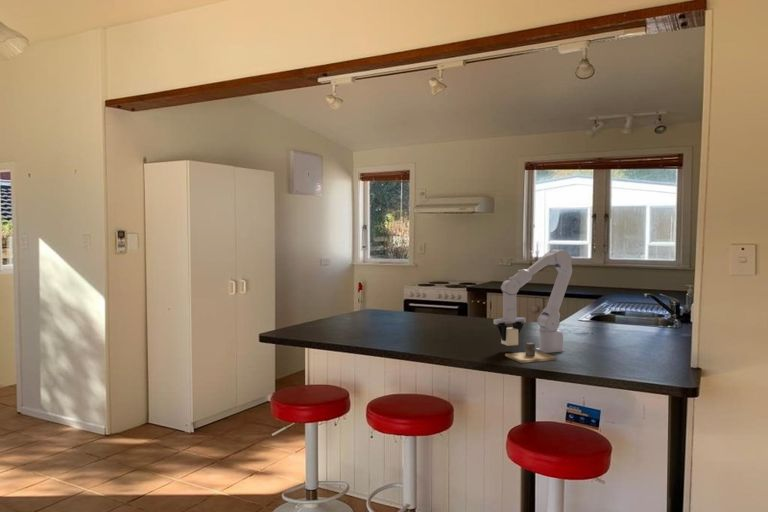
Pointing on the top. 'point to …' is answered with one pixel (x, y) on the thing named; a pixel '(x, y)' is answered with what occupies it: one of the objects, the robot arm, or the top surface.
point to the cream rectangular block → (511, 337)
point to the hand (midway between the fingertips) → (509, 340)
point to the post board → (529, 359)
